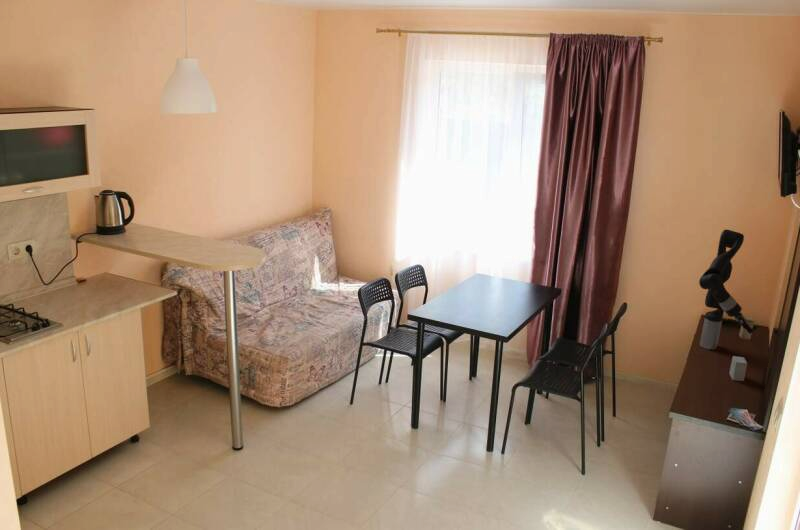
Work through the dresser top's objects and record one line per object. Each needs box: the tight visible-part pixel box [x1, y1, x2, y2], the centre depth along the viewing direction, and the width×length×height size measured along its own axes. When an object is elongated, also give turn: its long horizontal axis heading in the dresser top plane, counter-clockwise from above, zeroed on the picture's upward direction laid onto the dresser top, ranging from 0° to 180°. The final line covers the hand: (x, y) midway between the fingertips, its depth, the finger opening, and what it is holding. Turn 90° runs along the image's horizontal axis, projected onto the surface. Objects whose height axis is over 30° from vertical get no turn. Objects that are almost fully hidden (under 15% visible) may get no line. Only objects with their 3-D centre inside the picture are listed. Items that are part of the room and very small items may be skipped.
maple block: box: [739, 317, 755, 340], centre depth 369 cm, size 4×4×10 cm
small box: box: [729, 355, 748, 382], centre depth 376 cm, size 8×6×10 cm
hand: (750, 330), depth 369 cm, fingers closed on maple block, 4 cm apart
